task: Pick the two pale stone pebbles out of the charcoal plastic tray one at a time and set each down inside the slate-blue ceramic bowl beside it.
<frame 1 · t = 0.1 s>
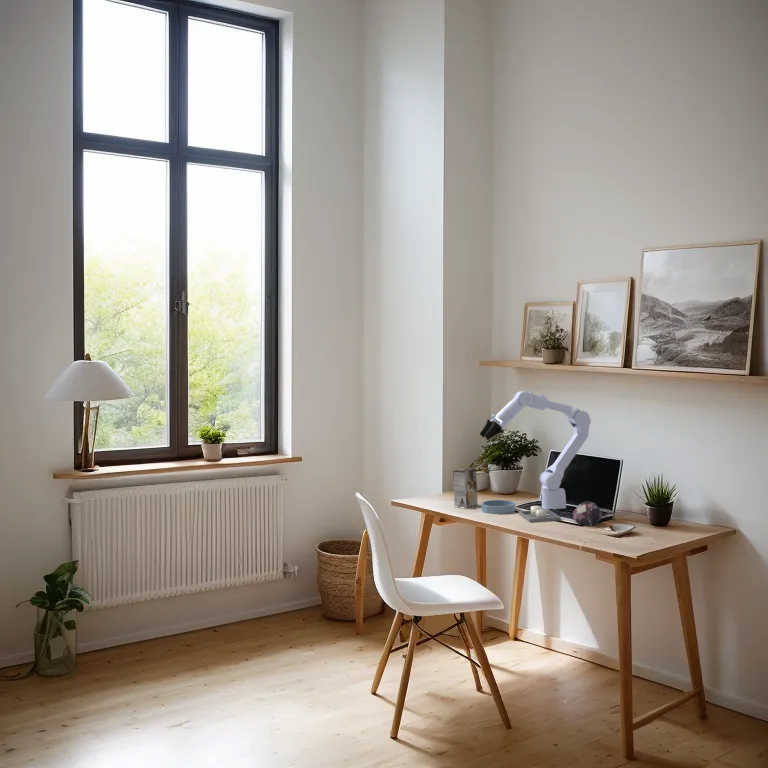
hand: (483, 436, 355), 32 cm above the table, tool tilted 50°, fingers open, 7 cm apart
grey pebble: (541, 518, 340), point 1 cm above the table, touching parts tray
coffee box: (466, 506, 374), on the table
parts tray: (539, 519, 343), on the table
bowl: (498, 512, 359), on the table
light pebble: (536, 515, 347), point 1 cm above the table, touching parts tray
mineral specimen: (587, 526, 329), on the table
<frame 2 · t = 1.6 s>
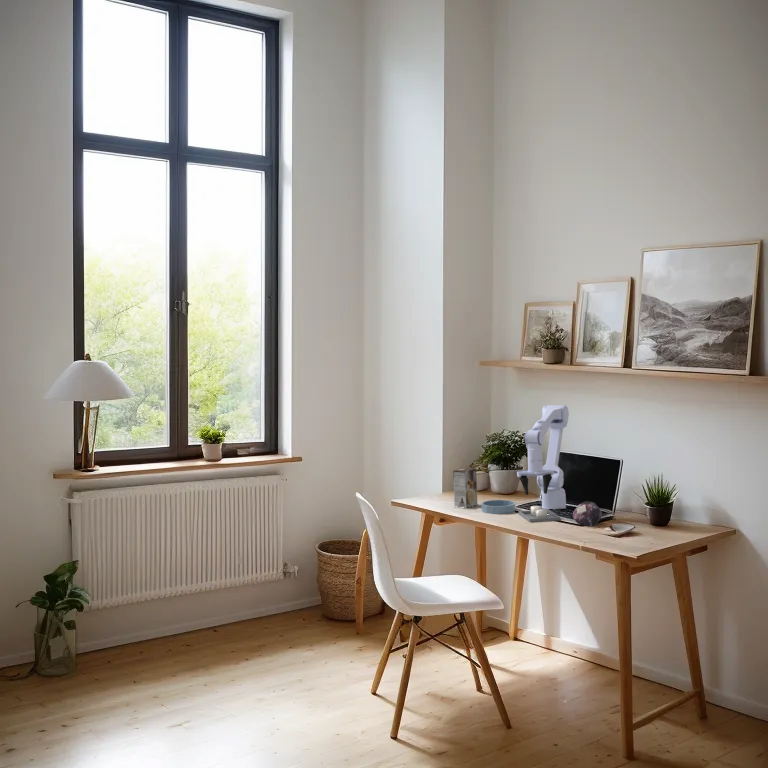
hand: (535, 493, 346), 10 cm above the table, tool pointing down, fingers open, 7 cm apart
nothing on the table moved.
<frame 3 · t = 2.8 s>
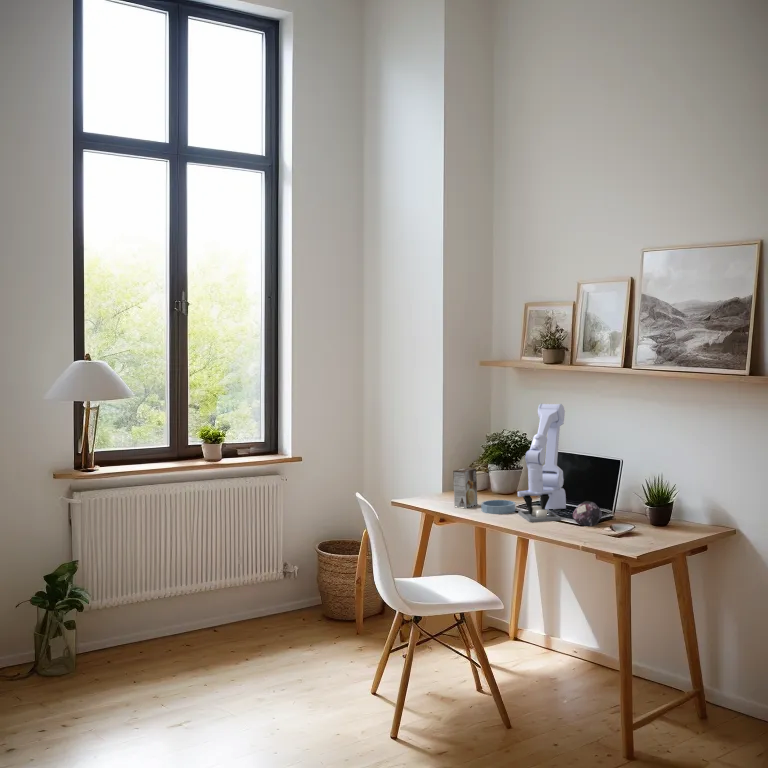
hand: (536, 513, 347), 2 cm above the table, tool pointing down, fingers closed on light pebble, 4 cm apart
light pebble: (536, 515, 347), point 1 cm above the table, touching gripper, parts tray
everything else where it was.
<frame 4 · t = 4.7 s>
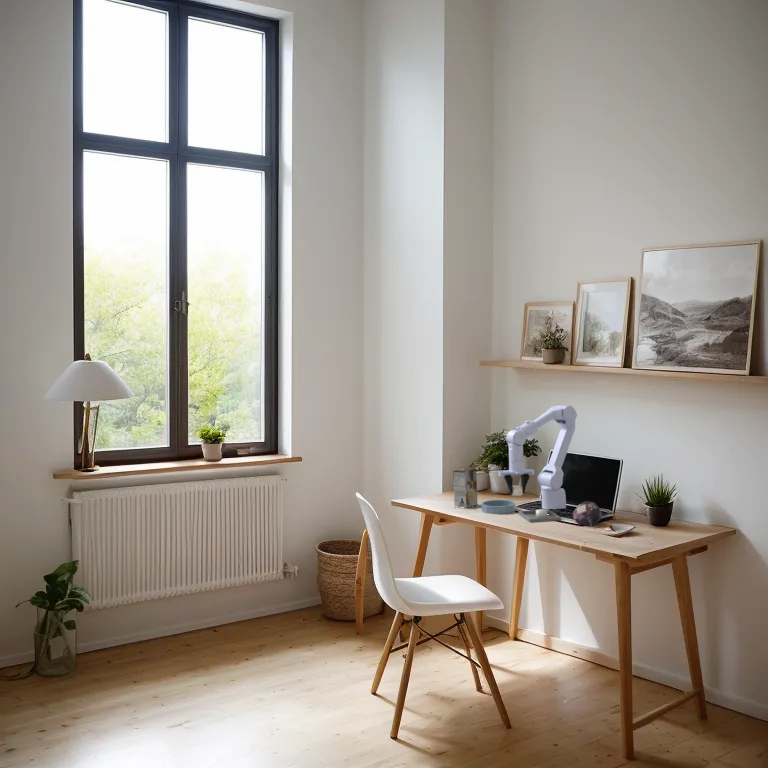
hand: (517, 493, 353), 9 cm above the table, tool pointing down, fingers closed on light pebble, 4 cm apart
light pebble: (517, 494, 353), point 8 cm above the table, touching gripper
everything else where it was.
when the fingers open (4 cm above the table, at t = 6.8 s): light pebble drops 2 cm, resting on bowl.
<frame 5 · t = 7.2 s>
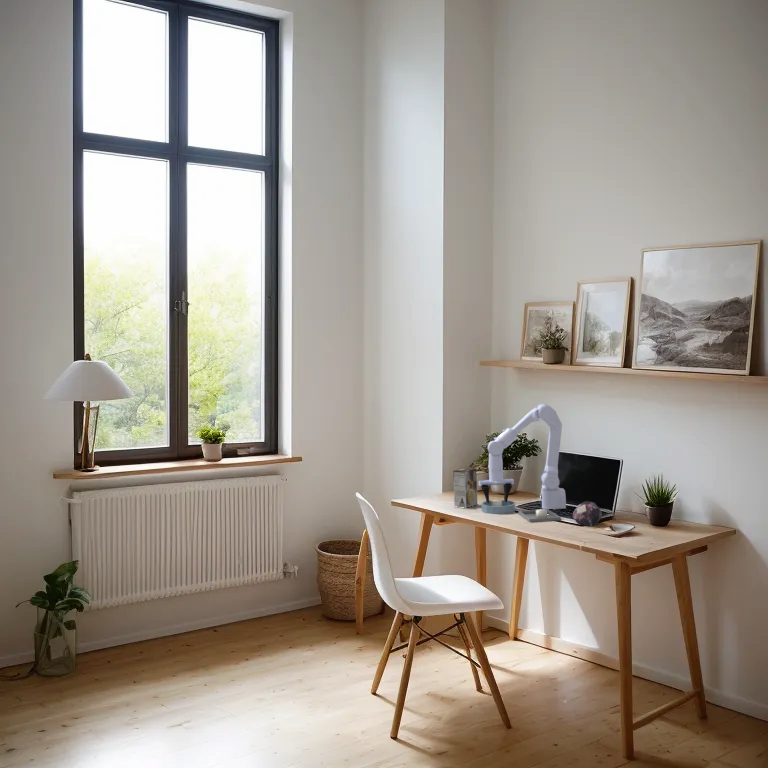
hand: (496, 502, 361), 4 cm above the table, tool pointing down, fingers open, 7 cm apart
light pebble: (496, 509, 361), point 1 cm above the table, touching bowl
everything else where it was.
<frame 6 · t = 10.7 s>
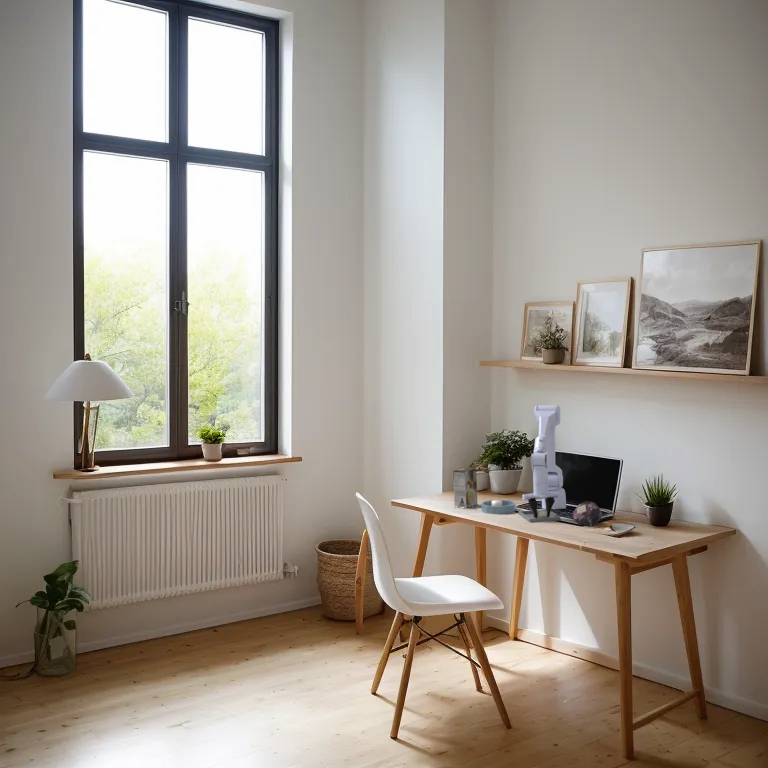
hand: (541, 517, 340), 2 cm above the table, tool pointing down, fingers closed on grey pebble, 4 cm apart
grey pebble: (541, 518, 340), point 1 cm above the table, touching gripper, parts tray
everything else where it was.
when the fingers open (4 cm above the table, at t = 14.5 s): grey pebble drops 2 cm, resting on bowl.
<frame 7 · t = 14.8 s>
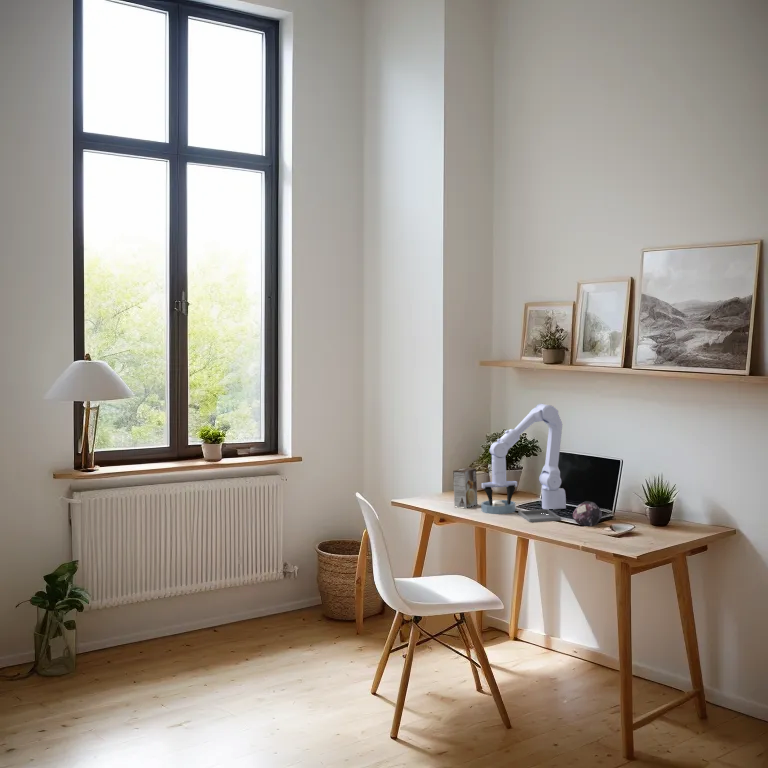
hand: (499, 504, 356), 4 cm above the table, tool pointing down, fingers open, 7 cm apart
grey pebble: (500, 511, 356), point 1 cm above the table, touching bowl
everything else where it was.
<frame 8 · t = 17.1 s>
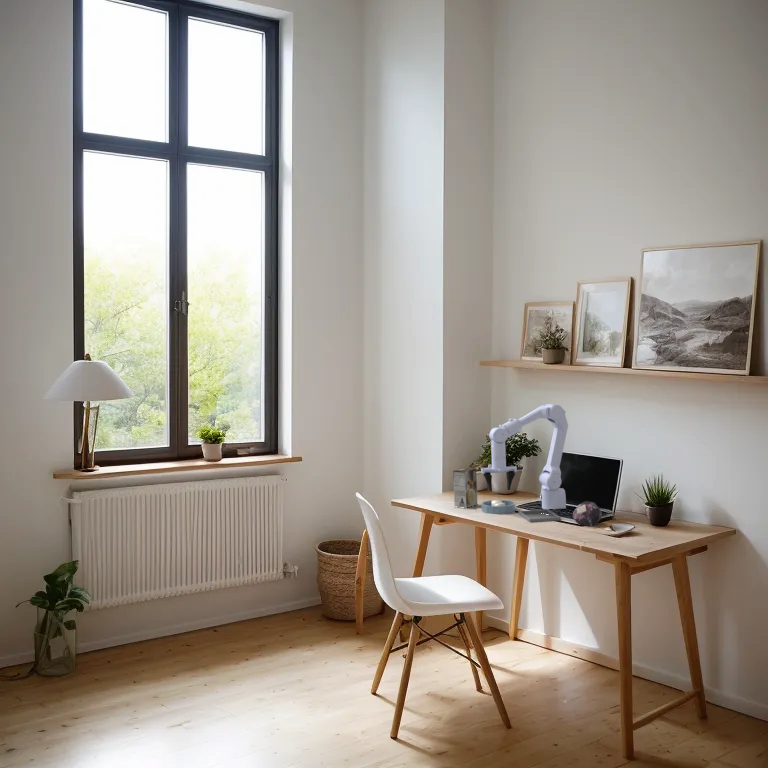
hand: (499, 490, 355), 10 cm above the table, tool pointing down, fingers open, 7 cm apart
nothing on the table moved.
at the end: light pebble inside the target area on the bowl (2.3 cm from its centre), point 1.0 cm above the bowl's base; grey pebble inside the target area on the bowl (2.8 cm from its centre), point 1.0 cm above the bowl's base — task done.
